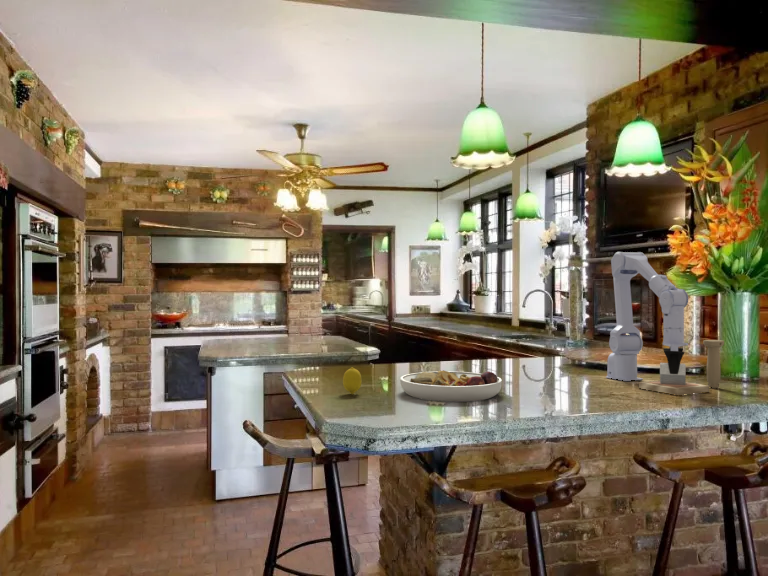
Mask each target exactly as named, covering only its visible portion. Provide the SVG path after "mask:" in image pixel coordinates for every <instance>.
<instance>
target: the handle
mask: <svg viewBox="0 0 768 576" xmlns="http://www.w3.org/2000/svg"><path fill="white" fill-rule="evenodd" d="M702 343H703V345H704V346H705V347H707V355H706V356H707V359H706V360H707V361H706V380H707V386H709V387H712V388H711V389H716V388H717V389H719V388H720V383H721V376H722V375H721V373H722V372H721V371H722V370H721V368H722V367H721V356H720V355H721V354H720V353H721V352H720V350H721V349H720V348H721V347H723V346H724V345H725V340H720V339H705V340H703V341H702Z"/></svg>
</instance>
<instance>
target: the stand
mask: <svg viewBox="0 0 768 576" xmlns="http://www.w3.org/2000/svg"><path fill="white" fill-rule="evenodd" d="M639 388H641V389H640V390H642V389H646V390H645V391H648V390H652V391H651V392H653V391H658V392H657V393H659V392H665V393H670V394H675V395H682V396H685V395H684V394H691V395H694V394H693V393H700V394H702V393H701V392H709V393H710V388H709V386H708V384H706V385H705V384H701V383H693V382H687V381H686V385H673V384H660V380H652V381H650V380H649V381H642V382H640V381H639V382H638V389H639ZM670 394H669V395H670ZM675 395H674V396H675Z"/></svg>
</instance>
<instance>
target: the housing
mask: <svg viewBox="0 0 768 576" xmlns="http://www.w3.org/2000/svg"><path fill="white" fill-rule="evenodd" d="M686 369H687V368H686V364H685V363H680V367H679V372H678V374H670V371H669V366H668V362H660V363H659V377H660V378H659V381H660V384H673V385H686V382H687V381H686V379H687V378H686V375H687V374H686Z"/></svg>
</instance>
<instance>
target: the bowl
mask: <svg viewBox="0 0 768 576" xmlns="http://www.w3.org/2000/svg"><path fill="white" fill-rule="evenodd" d="M399 379H400V380H399V381H400V382H399V384H400V386H401V388H402V391H404V393H405V394H407V395H408V396H410V397H413V398H416V399H419V400H425V401H431V400H432V402H433V401H435V402H445V403H446V402H450V403H462V402H463V403H464V402H477V401H484V400H489V399H491V398H493V397H495V396H496V395H498V393H500V391H501V389H502V385H503V382H502V381H503V380H502V378H501V377H499V376H498V375H496V373H494V372H492V371H483V373H479V372H478V373H477V372H471V371H470V372H468V371H447V370H443V369H442V370H438V371H422V372H421V371H420V372H415V373H409V374H404V375H402V376H400V378H399Z"/></svg>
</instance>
